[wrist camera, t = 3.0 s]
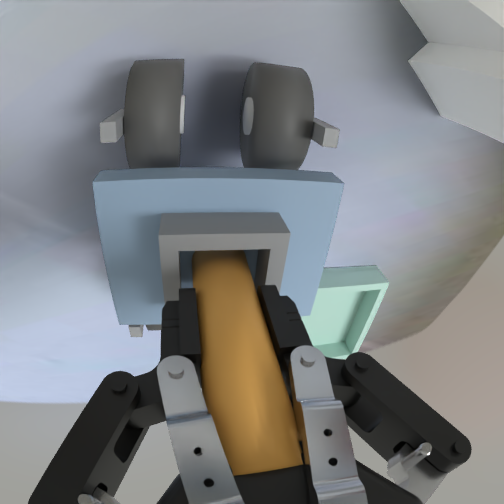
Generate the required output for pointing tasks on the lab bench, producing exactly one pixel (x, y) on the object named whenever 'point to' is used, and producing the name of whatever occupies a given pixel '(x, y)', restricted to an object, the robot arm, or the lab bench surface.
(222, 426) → the pin
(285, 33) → the lab bench surface
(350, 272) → the tray
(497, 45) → the white faceted lump
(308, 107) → the trolley
